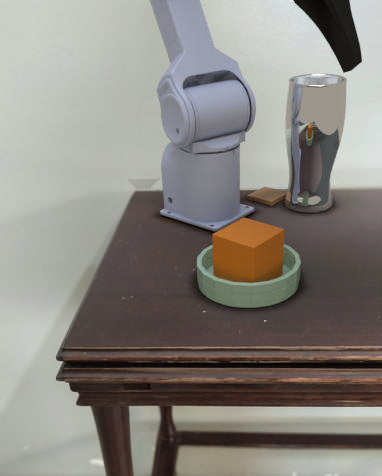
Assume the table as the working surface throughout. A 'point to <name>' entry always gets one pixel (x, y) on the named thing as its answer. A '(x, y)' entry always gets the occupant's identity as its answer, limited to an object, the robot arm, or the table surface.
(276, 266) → the orange cube
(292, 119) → the beer glass
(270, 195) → the cork coaster
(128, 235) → the table surface
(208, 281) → the celadon bowl
